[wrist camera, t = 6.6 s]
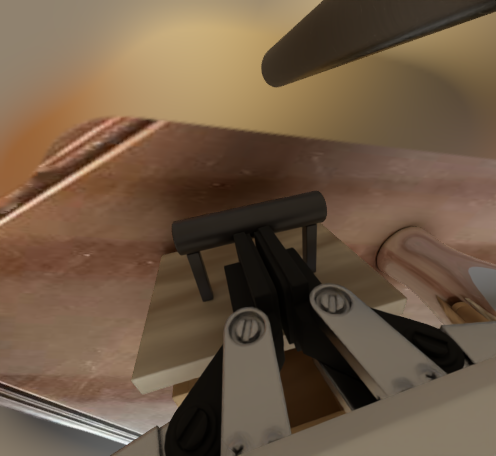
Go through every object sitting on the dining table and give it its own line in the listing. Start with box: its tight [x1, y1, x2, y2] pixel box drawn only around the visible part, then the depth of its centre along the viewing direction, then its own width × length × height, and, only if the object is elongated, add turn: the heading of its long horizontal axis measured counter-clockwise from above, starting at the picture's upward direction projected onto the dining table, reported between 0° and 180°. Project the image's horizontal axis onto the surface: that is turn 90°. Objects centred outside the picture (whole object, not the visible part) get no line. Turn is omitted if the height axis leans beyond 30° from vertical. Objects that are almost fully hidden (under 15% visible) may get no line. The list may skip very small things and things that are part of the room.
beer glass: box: [377, 226, 496, 325], centre depth 17 cm, size 7×7×15 cm
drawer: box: [131, 191, 407, 428], centre depth 15 cm, size 19×13×9 cm, turn 8°
